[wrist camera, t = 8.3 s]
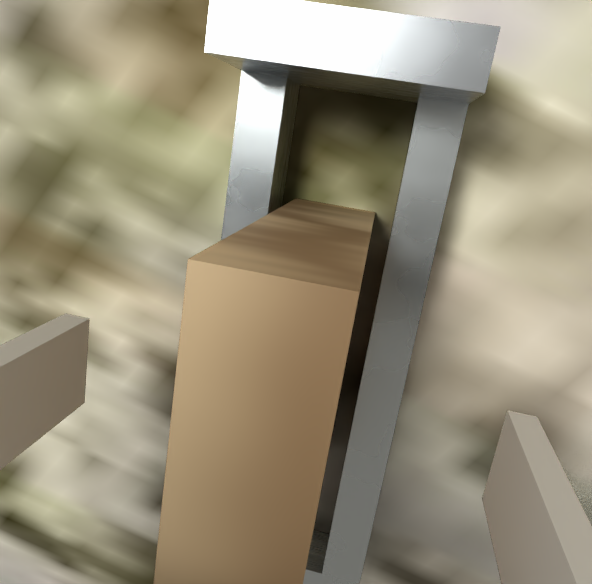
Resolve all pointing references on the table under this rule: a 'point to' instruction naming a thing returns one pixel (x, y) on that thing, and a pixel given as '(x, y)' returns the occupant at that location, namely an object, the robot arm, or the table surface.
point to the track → (411, 200)
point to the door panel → (258, 394)
